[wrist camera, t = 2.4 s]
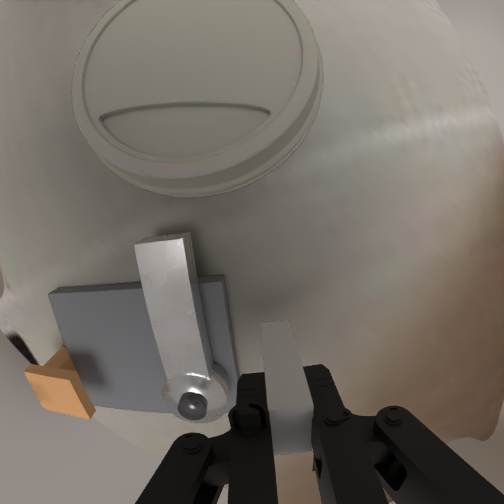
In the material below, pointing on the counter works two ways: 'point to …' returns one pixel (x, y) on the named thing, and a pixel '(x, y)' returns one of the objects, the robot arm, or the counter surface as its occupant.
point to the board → (133, 342)
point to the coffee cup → (197, 91)
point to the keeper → (60, 386)
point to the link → (181, 329)
